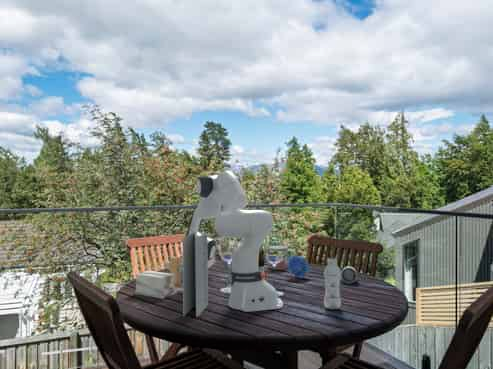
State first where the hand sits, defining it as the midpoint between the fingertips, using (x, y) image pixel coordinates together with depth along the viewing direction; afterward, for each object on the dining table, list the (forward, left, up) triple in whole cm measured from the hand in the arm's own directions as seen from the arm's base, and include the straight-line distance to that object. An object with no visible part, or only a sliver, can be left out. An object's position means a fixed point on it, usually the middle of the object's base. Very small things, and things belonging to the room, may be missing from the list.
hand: (174, 269), depth 197 cm
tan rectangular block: (-1, -1, -7) cm, 7 cm away
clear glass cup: (-57, -37, -9) cm, 69 cm away
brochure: (-12, +38, -9) cm, 41 cm away
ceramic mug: (-86, 0, -9) cm, 86 cm away
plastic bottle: (-66, +42, -9) cm, 79 cm away
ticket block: (+4, +6, -8) cm, 11 cm away
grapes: (-63, -9, -9) cm, 64 cm away
